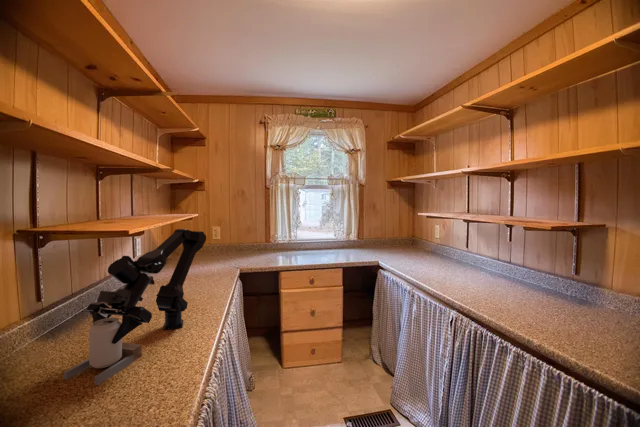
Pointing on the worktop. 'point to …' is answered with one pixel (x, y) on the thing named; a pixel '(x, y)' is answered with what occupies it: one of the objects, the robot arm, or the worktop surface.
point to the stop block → (131, 350)
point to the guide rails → (101, 376)
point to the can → (104, 343)
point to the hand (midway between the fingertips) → (101, 342)
